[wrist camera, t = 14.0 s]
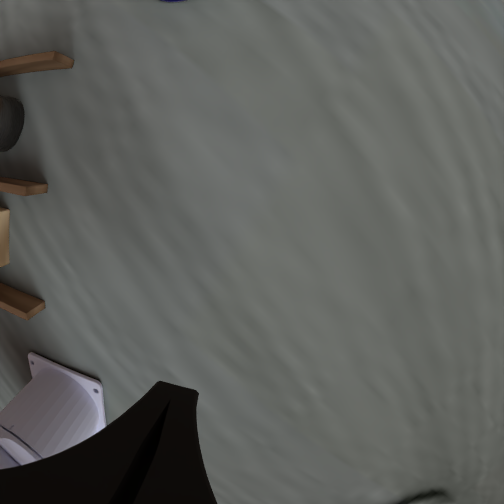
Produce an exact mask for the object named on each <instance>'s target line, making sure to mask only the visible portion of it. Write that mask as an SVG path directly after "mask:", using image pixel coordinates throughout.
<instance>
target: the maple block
mask: <svg viewBox="0 0 504 504" xmlns="http://www.w3.org/2000/svg"><path fill="white" fill-rule="evenodd" d="M9 215H10V210H9V209H5V208H1V207H0V267H2V266H5V265H7V264H9Z"/></svg>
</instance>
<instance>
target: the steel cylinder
mask: <svg viewBox="0 0 504 504" xmlns="http://www.w3.org/2000/svg"><path fill="white" fill-rule="evenodd" d="M23 125H24V108H23V105H22V103H21V102H20V101H19V100H18V99H15V98H11V97H6V96H1V95H0V152H5V151H8V150H10V149H11V148H12V147H13V146H14V145H15V144H16V142H17V141H18V139H19V137H20V135H21V132H22V129H23Z"/></svg>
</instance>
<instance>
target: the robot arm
mask: <svg viewBox="0 0 504 504" xmlns="http://www.w3.org/2000/svg"><path fill="white" fill-rule="evenodd" d="M28 360H29V365H30V370H31V374H32V380H31V381H30V382H29V383H28V384H27V385H26V386H25V387H24V388H23V389H22V390H21V391H20V392H19V393H18V394H17V395H16V396H15V397H14V398H13V399H12V400H11V401H10V402H9V404H8V405H7V406H6V407H5V408H4V409H3V410H2V411H1V412H0V504H217V502H216V499H215V497H214V494H213V491H212V489H211V486H210V483H209V480H208V477H207V474H206V470H205V467H204V463H203V459H202V455H201V450H200V445H199V438H198V431H197V419H196V407H197V401H198V395H199V393H198V392H197V391H196V390H193V389H189V388H185V387H181V386H178V385H174V384H170V383H166V382H163V381H159V382H157V383H156V384H155V385H154V386H153V387H152V388H151V389H150V390H149V391H148V392H147V393H146V394H145V395H144V396H143V397H142V398H141V399H140V400H139V401H138V402H136V403H135V404H134V405H133V406H132V407H131V408H129V409H128V410H127V411H126V412H125V413H123V414H122V415H121V416H120V417H118V418H117V419H116V420H114V421H113V422H112V423H110V424H109V425H107V426H106V419H105V410H104V400H103V389H102V384H101V383H100V382H99V381H98V380H95V379H93V378H90V377H88V376H85V375H83V374H80V373H78V372H75V371H73V370H70V369H68V368H66V367H63V366H61V365H59V364H57V363H54V362H52V361H50V360H48V359H46V358H44V357H41V356H39V355H37V354H35V353H33V352H30V353H29V354H28ZM96 389H97V390H96Z"/></svg>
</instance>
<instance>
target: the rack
mask: <svg viewBox="0 0 504 504" xmlns="http://www.w3.org/2000/svg"><path fill="white" fill-rule="evenodd" d="M73 63H74V60H72V59H70V58H68V57H66V56H64V55H62V54H60V53H58V52H56V51H51V52H45V53H38V54H32V55H27V56H21V57H16V58H12V59H7V60H3V61H0V77H2V76H8V75H14V74H21V73H28V72H36V71H45V70H55V69H68V68H72V66H73ZM47 188H48V184H43V183H37V182H31V181H25V180H19V179H12V178H6V177H0V191H2V192H7V193H12V194H17V195H22V196H29V195H35V194H42V193H47ZM0 308H2V309H4V310H6V311H8V312H10V313H12V314H14V315H17V316H19V317H21V318H23V319H25V320H29V319H30V318H32V317H33V316H34V315H36V314H37V313H39V312H40V311H41V310H43V309H44V308H45V301H43V300H40V299H38V298H35V297H33V296H30V295H28V294H26V293H23V292H21V291H19V290H16V289H14V288H12V287H9V286H7V285H5V284H3V283H0Z"/></svg>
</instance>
